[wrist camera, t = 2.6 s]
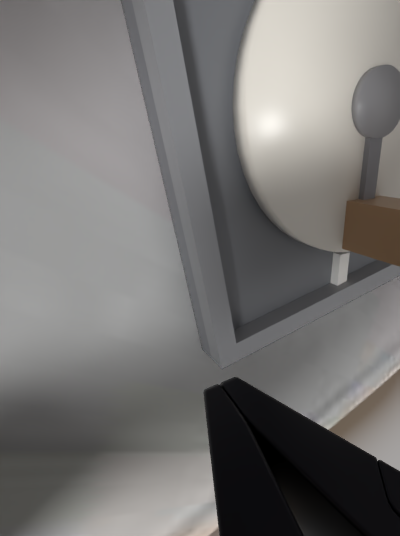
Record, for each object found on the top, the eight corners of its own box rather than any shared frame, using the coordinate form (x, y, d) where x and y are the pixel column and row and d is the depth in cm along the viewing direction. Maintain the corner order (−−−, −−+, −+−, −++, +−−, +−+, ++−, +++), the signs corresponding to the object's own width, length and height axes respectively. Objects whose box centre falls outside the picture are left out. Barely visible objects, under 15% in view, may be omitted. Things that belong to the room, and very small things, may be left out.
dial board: (202, 349, 19) (222, 369, 17) (77, -188, 11) (91, -247, 9) (443, 230, 26) (474, 236, 25) (477, -150, 18) (526, -179, 16)
